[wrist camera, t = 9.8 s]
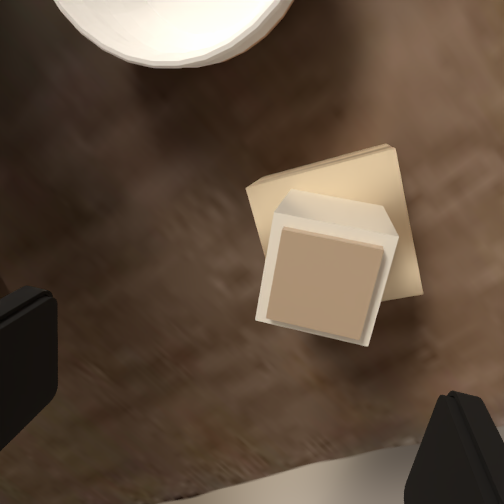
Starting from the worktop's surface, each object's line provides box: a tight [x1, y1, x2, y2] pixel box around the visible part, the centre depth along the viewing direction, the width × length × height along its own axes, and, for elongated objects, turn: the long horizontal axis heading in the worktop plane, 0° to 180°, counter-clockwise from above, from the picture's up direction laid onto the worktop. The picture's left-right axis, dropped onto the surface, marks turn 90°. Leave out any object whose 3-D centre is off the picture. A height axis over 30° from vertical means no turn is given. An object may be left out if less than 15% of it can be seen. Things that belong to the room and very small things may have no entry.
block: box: [246, 144, 423, 301], centre depth 28 cm, size 9×9×6 cm
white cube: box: [255, 189, 399, 347], centre depth 22 cm, size 6×6×8 cm
